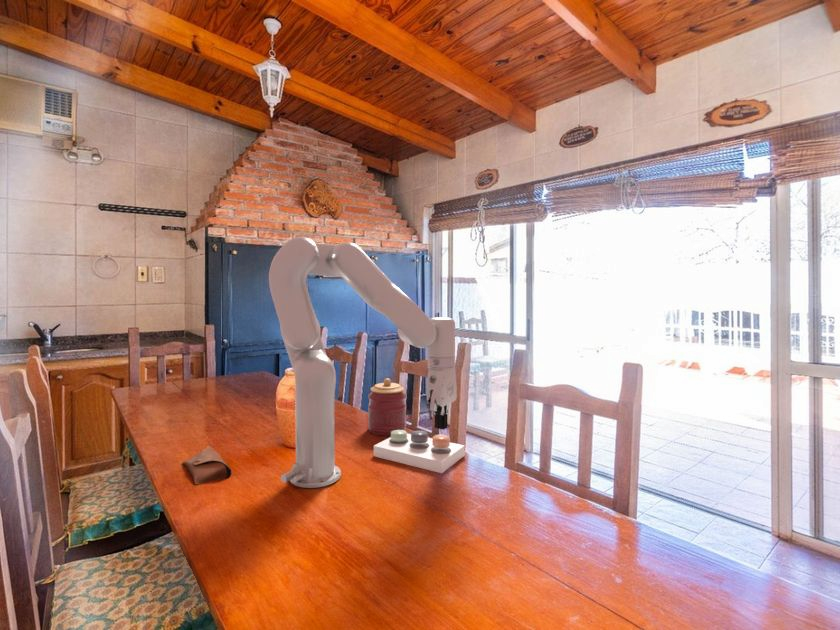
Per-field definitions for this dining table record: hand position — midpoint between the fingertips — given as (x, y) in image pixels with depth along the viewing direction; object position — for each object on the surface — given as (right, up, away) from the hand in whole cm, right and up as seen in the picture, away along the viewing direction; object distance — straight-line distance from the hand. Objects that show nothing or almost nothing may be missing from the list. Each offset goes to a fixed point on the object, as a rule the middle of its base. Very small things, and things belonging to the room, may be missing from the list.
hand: (440, 427), depth 120 cm
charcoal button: (-6, -4, +4) cm, 8 cm away
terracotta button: (0, -5, 0) cm, 5 cm away
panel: (-6, -9, +4) cm, 12 cm away
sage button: (-12, -5, +7) cm, 15 cm away
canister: (-17, -8, +27) cm, 33 cm away
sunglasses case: (-62, -10, -6) cm, 63 cm away
